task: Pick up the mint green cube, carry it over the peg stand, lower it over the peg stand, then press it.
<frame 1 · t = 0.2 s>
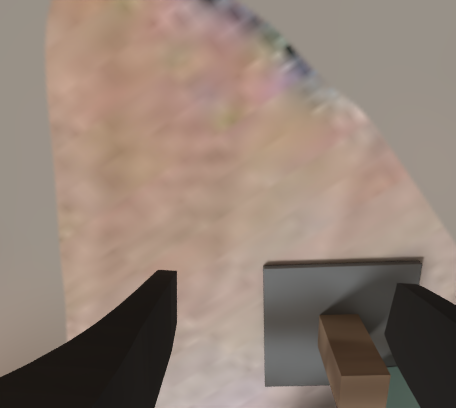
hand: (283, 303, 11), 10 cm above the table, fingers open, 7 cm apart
peg stand: (335, 326, 23), on the table
mint green cube: (397, 391, 25), on the table, touching peg stand
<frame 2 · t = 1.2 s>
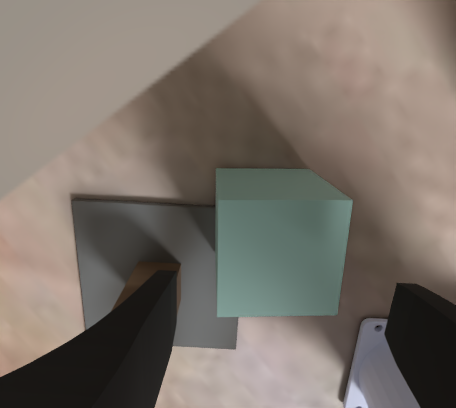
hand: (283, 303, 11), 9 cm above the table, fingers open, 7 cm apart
peg stand: (161, 277, 21), on the table
mint green cube: (260, 213, 19), on the table, touching peg stand
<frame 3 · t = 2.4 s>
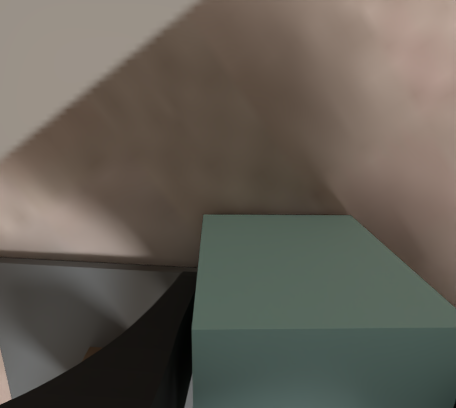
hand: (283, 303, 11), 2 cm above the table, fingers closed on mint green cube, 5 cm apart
peg stand: (126, 365, 14), on the table
mint green cube: (273, 280, 12), on the table, touching gripper, peg stand
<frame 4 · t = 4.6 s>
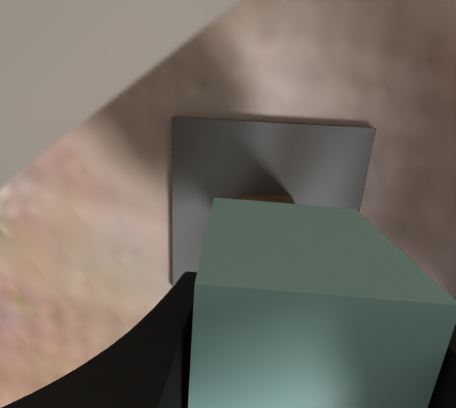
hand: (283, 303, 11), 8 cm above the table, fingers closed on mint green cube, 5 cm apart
peg stand: (264, 214, 18), on the table
mint green cube: (276, 266, 13), point 6 cm above the table, touching gripper
when the fingers open (3 cm above the table, at t = 6.6 s): mint green cube stays where it is, resting on peg stand.
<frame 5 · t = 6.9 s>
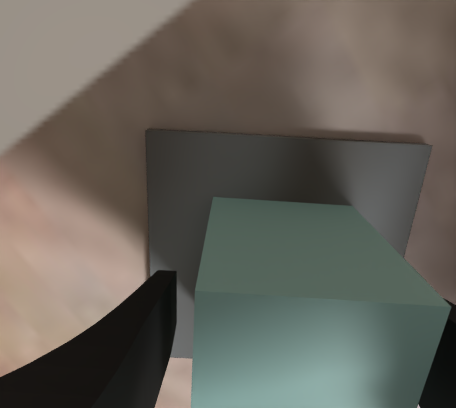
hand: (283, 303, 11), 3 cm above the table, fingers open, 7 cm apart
peg stand: (273, 259, 14), on the table
mint green cube: (275, 263, 13), resting on peg stand
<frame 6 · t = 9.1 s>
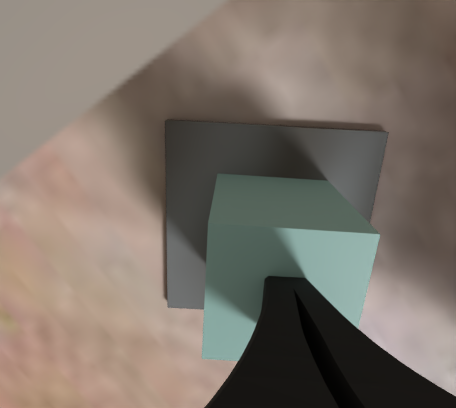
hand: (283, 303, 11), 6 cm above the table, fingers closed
peg stand: (266, 225, 17), on the table
mint green cube: (267, 227, 17), resting on peg stand
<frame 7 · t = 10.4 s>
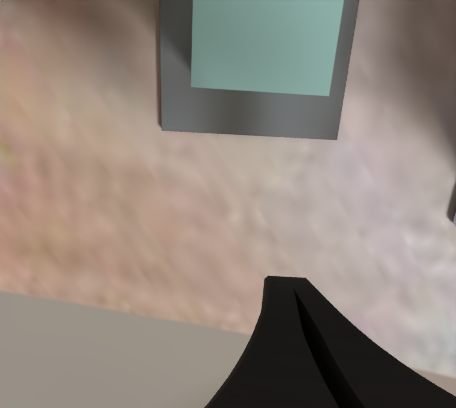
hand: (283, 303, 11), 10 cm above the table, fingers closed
peg stand: (255, 39, 18), on the table
mint green cube: (256, 36, 17), resting on peg stand
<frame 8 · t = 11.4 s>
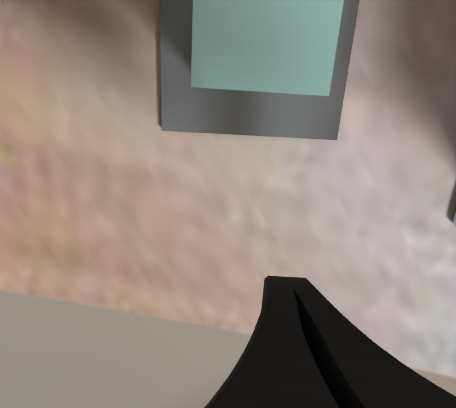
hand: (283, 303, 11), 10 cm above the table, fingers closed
peg stand: (255, 39, 18), on the table
mint green cube: (256, 36, 17), resting on peg stand
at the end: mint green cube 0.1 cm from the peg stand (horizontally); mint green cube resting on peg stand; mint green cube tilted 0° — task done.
